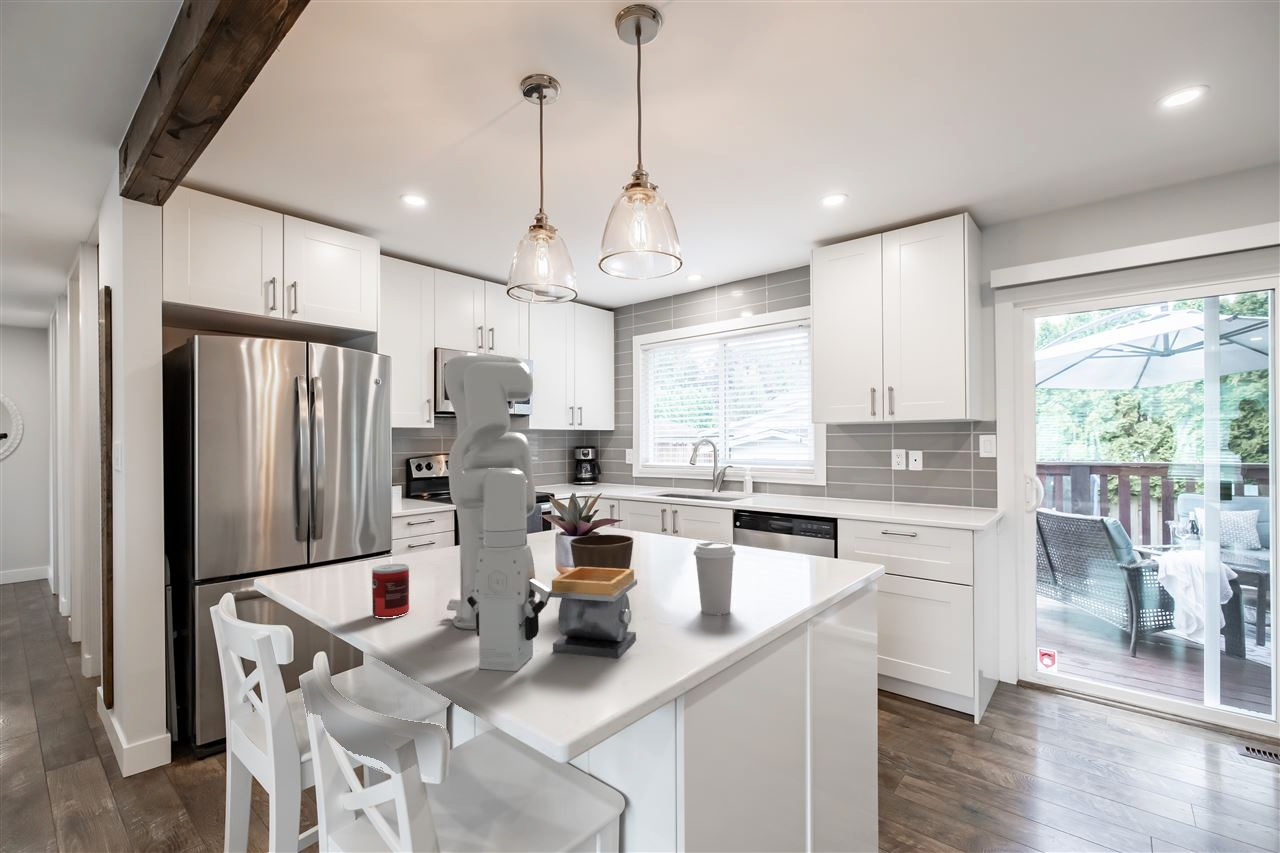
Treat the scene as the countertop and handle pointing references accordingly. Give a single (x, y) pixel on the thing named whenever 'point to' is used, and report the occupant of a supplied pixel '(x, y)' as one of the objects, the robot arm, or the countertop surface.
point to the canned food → (390, 590)
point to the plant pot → (602, 551)
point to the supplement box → (502, 634)
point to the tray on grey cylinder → (594, 611)
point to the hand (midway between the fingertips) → (507, 636)
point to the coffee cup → (715, 576)
